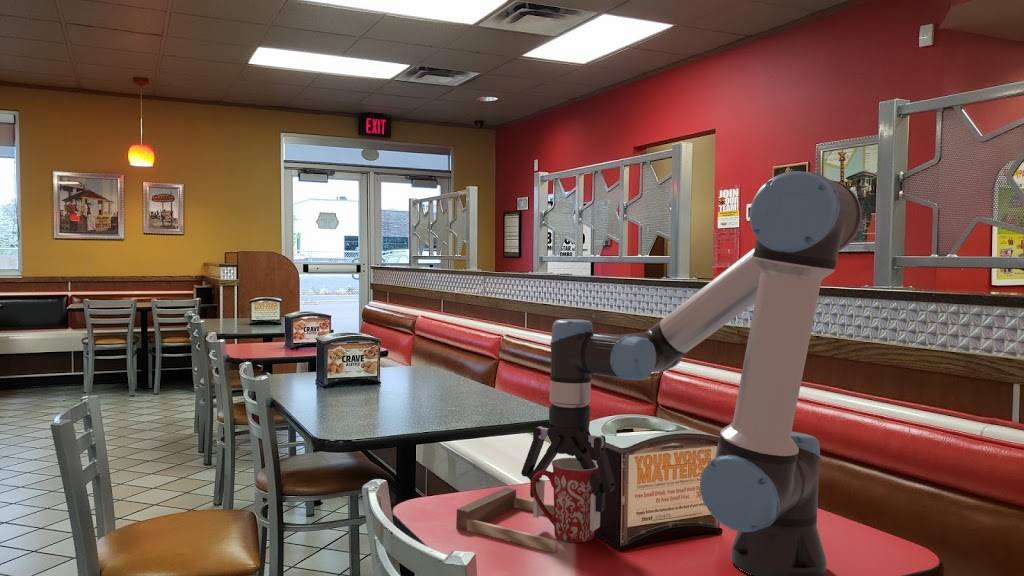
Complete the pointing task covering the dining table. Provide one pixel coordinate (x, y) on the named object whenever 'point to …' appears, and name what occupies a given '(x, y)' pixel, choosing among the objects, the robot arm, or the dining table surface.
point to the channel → (494, 504)
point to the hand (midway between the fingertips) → (565, 521)
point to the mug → (569, 499)
